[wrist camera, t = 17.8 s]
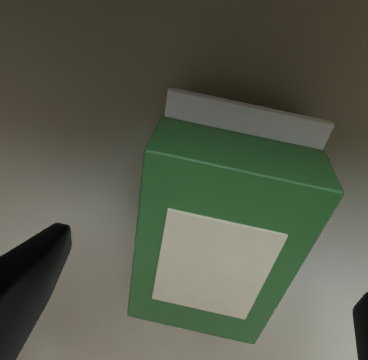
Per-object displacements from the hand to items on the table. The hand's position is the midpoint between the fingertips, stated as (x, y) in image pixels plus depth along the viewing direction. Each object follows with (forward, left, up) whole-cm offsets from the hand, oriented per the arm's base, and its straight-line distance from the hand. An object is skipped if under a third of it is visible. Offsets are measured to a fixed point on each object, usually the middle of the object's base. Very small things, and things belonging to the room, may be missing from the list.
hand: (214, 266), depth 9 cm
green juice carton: (0, 0, -4) cm, 4 cm away
